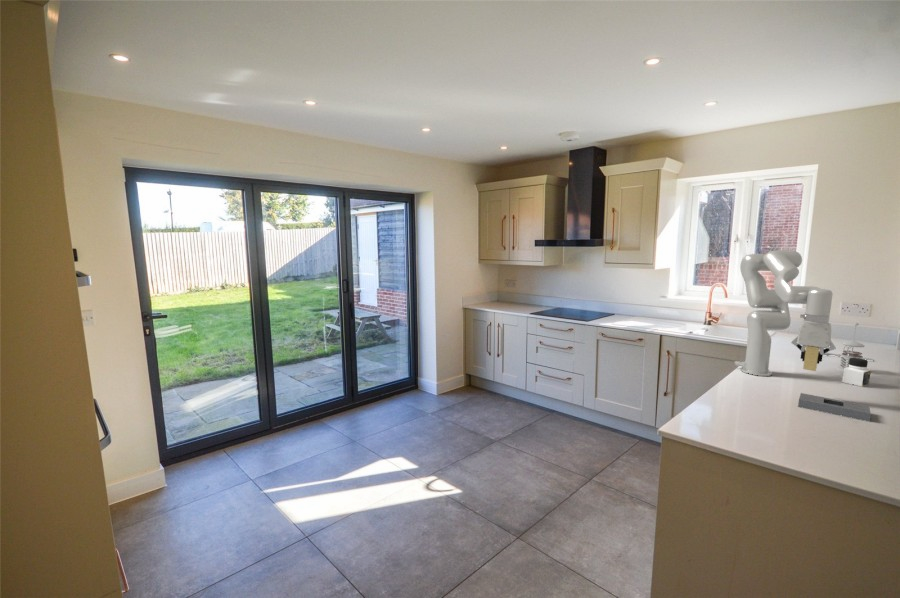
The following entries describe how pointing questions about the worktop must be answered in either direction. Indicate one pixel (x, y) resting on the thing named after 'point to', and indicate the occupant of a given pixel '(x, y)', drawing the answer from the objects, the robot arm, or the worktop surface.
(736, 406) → the worktop surface
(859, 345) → the french press
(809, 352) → the brass peg
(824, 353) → the adjustable wrench
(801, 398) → the grey socket block
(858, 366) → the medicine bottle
